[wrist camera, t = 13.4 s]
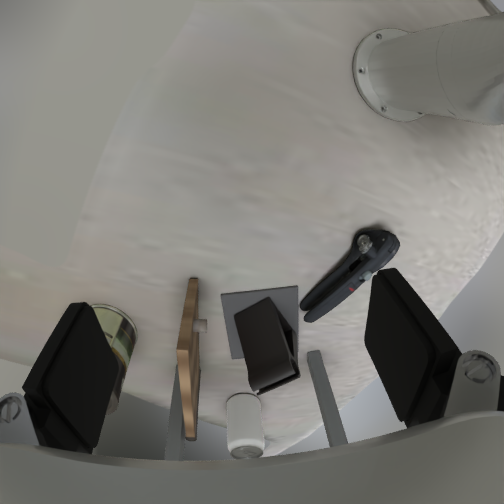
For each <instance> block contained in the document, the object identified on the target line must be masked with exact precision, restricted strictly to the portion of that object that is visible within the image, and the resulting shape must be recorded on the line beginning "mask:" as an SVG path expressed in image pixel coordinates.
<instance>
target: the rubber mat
mask: <svg viewBox="0 0 504 504" xmlns="http://www.w3.org/2000/svg"><path fill="white" fill-rule="evenodd" d="M268 297H270V299H271V300H272V301H273V303H274V304H275V306H276V307H277V308H278V310H279V311H280V312H281V314H282V315H283V317H284V318H285V319H286V320H287V322H288V323H289V325H290V326H291V327H292V329H293V330H294V331H295V333H296V334H297V352H298V286H289V287H281V288H272V289H263V290H254V291H245V292H236V293H226V294H221V300H222V306H223V311H224V317H225V323H226V328H227V334H228V339H229V345H230V350H231V356H232V359H241V358H244V354H243V350H242V347H241V343H240V339H239V335H238V331H237V328H236V324H235V320H234V315H236V314H238V313H239V312H241V311H243V310H245V309H247V308H249V307H251V306H253V305H255V304H256V303H258V302H260V301H262V300H264V299H266V298H268Z"/></svg>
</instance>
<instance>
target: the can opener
mask: <svg viewBox="0 0 504 504" xmlns="http://www.w3.org/2000/svg"><path fill="white" fill-rule="evenodd" d="M399 247H400V242H399V240H398V239H397V237H396V235H394V234H392V233H390V232H389V231H386V230H363V231H361V232H359V233H358V234H357V235H356V237H355V239H354V243H353V249H352V252H351V253H350V255H349V256H348V258H347V259H346V261H345V262H344V263H343V264H342V265H341V266H340V267H339V268H338V269H337V270H336V271H334V272H333V273H332V274H331V275H330V276H328V277H327V278H326V279H325V280H324V281H323V282H321V283H320V284H319V285H318V286H317V287H316V288H315V289H314V290H313V291H312V292H311V293H310V294H309V295H308V296H307V297H306V298H305V299H304V300H303V302H302V303H301V305H300V308H301V310H303V311H308V310H310V311H308V312H307V313H306V314H305V316H304V321H305V322H309V323H311V322H314V321H316V320H317V319H319V318H320V317H322V316H323V315H325V314H326V313H328V312H329V311H330V310H332V309H333V308H335V307H336V306H337V305H338V304H340V303H341V302H342V301H343V300H345V299H346V298H347V297H348V296H349V295H351V294H352V293H353V292H354V291H355V290H356V289H357V288H358V287H359V286H360V285H361V284H362V283H364V282H365V281H368V280H369V279H370V278H371V276H372V274H373V273H374V272H376V271H378V270H379V269H381V268H382V267H384V266H385V265H386V264H387V263H388V262H389V261H390V260H391V259H392V258H393V257H394V255H395V254H396V253H397V251H398V249H399Z"/></svg>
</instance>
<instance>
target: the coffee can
mask: <svg viewBox="0 0 504 504" xmlns="http://www.w3.org/2000/svg"><path fill="white" fill-rule="evenodd" d="M92 307H93V309H94V311H95V314H96V316H97V318H98V321H99V323H100V325H101V327H102V330H103V332H104V334H105V336H106V338H107V341H108V343H109V345H110V347H111V349H112V351H113V353H114V355H115V357H116V359H117V361H118V365H119V372H118V375H117V378H116V381H115V385H114V388H113V391H112V394H111V398H110V401H109V404H108V408H107V411H106V415H109V414H111V413H113V412H114V411H115V410H116V409H117V407H118V403H119V397H120V393H121V389H122V386H123V382H124V379H125V375H126V372H127V368H128V365H129V362H130V358H131V355H132V352H133V349H134V345H135V343H136V341H137V330H136V327H135V325H134V323H133V322H132V321H131V319H130V318H129V317H128V316H127V315H126V314H125V313H123V312H122V311H120V310H119V309H117V308H115V307H112V306H109V305H104V304H98V305H97V304H96V305H92Z"/></svg>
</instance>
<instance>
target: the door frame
mask: <svg viewBox="0 0 504 504" xmlns="http://www.w3.org/2000/svg"><path fill="white" fill-rule="evenodd" d="M307 362H308V366H309V369H310V373H311V377H312V380H313V384H314V388H315V392H316V395H317V399H318V403H319V407H320V411H321V414H322V418H323V422H324V426H325V430H326V434H327V438H328V441H329V445H330V447H335V446H339V445H344V444H348V441H347V438H346V435H345V431H344V428H343V425H342V421H341V418H340V415H339V411H338V408H337V405H336V402H335V398H334V395H333V392H332V389H331V386H330V382H329V379H328V376H327V373H326V370H325V367H324V364H323V360H322V357H321V354H320V351H319V350H318V351H311V352H308V359H307ZM185 434H186V430H185V422H184V415H183V407H182V399H181V390H180V381H179V371H178V365H177V366H176V373H175V380H174V387H173V394H172V401H171V409H170V416H169V424H168V433H167V441H166V450H165V459H164V461H184V460H183V459H184V448H185Z"/></svg>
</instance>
